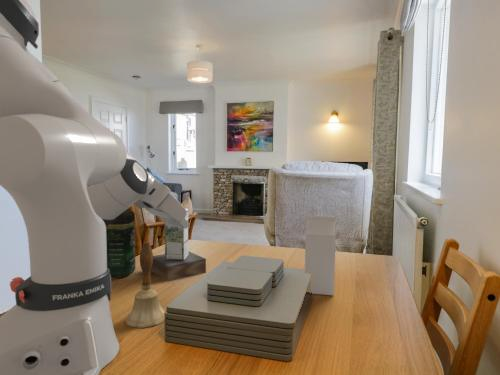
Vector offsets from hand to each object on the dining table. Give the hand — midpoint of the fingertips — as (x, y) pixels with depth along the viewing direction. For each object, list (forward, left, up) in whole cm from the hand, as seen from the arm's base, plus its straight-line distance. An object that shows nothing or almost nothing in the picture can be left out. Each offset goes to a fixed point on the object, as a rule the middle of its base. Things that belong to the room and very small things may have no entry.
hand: (179, 224), depth 101 cm
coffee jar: (-15, +8, -14) cm, 22 cm away
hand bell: (-20, -24, -14) cm, 34 cm away
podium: (-1, 0, -14) cm, 14 cm away
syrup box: (-1, 0, -10) cm, 10 cm away
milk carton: (+21, -35, -14) cm, 43 cm away
